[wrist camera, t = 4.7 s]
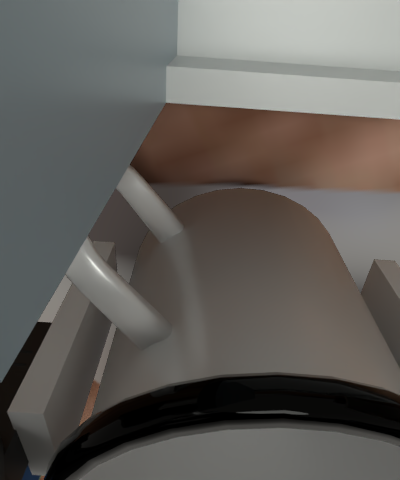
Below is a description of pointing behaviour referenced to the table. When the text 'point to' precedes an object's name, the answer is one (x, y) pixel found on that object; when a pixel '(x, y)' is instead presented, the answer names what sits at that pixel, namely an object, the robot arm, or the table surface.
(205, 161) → the table surface
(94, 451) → the mug
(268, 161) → the table surface
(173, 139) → the table surface
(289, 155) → the table surface
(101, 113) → the tray
